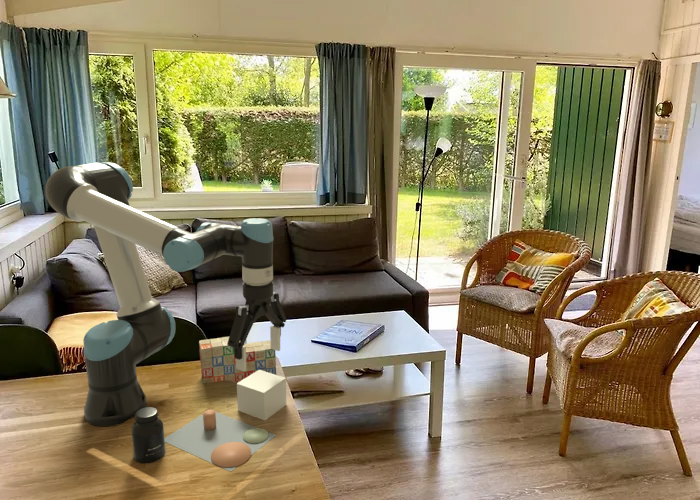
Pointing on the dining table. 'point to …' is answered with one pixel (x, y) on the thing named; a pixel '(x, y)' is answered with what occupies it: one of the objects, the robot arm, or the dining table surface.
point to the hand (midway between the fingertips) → (258, 359)
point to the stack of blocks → (234, 360)
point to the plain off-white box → (261, 394)
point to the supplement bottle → (148, 436)
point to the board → (219, 439)
